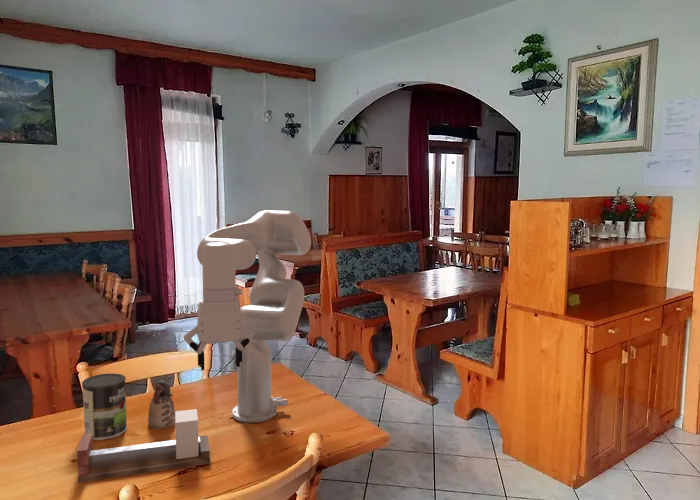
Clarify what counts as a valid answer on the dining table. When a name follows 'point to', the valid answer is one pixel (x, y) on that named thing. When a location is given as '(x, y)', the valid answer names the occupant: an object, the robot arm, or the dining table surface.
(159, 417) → the figurine
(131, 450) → the beam
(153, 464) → the board
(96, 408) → the coffee can
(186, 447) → the block
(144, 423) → the dining table surface
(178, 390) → the dining table surface
